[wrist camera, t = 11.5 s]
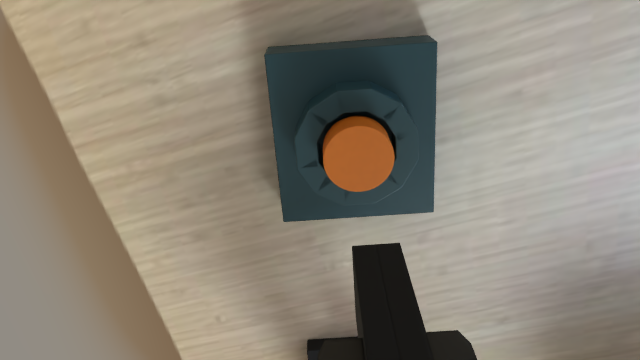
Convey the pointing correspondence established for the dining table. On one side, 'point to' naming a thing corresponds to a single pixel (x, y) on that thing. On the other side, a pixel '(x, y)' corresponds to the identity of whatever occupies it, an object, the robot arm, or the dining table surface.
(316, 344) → the lever bracket
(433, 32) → the dining table surface
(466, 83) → the dining table surface
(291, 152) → the button block
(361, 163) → the button
